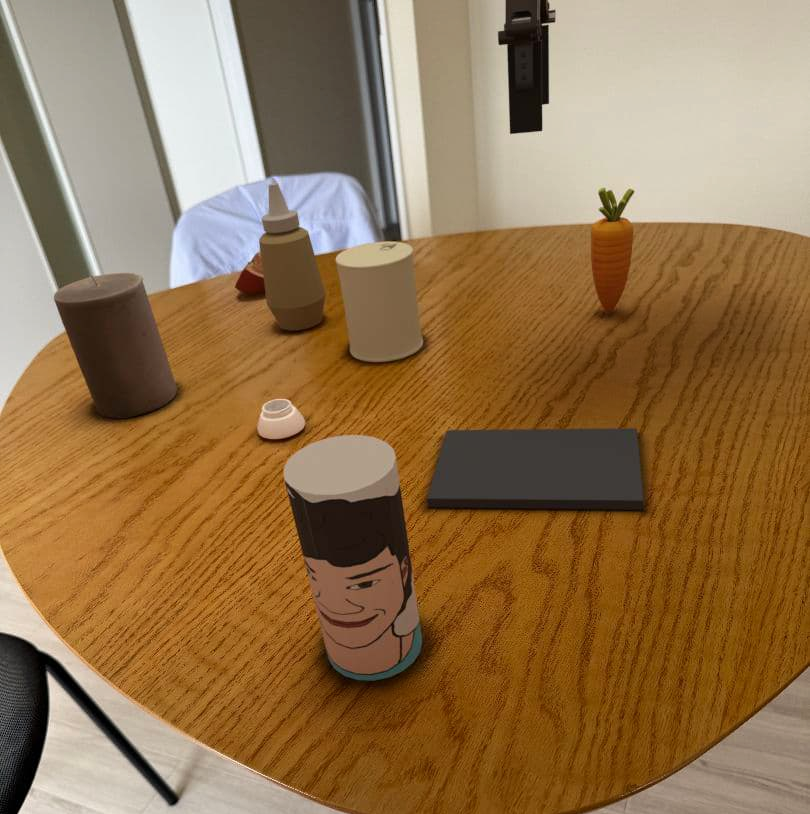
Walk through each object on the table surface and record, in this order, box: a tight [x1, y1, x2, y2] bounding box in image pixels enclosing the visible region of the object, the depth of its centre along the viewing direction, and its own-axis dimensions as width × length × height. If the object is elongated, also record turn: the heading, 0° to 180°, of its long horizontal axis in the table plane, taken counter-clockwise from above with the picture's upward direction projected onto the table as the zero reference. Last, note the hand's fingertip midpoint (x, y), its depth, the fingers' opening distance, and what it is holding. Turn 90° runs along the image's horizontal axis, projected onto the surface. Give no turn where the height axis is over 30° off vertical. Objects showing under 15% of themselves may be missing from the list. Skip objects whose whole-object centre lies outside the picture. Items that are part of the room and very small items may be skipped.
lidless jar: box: [256, 398, 306, 440], centre depth 82 cm, size 5×3×5 cm
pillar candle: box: [53, 272, 178, 419], centre depth 89 cm, size 10×10×15 cm
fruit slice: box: [234, 251, 265, 295], centre depth 119 cm, size 8×7×5 cm
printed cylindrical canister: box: [282, 434, 423, 682], centre depth 51 cm, size 7×7×15 cm
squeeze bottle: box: [258, 182, 326, 331], centre depth 102 cm, size 8×8×18 cm
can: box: [335, 241, 424, 363], centre depth 94 cm, size 9×9×12 cm
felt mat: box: [426, 427, 645, 511], centre depth 70 cm, size 18×12×1 cm, turn 79°
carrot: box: [590, 187, 635, 315], centre depth 93 cm, size 5×5×15 cm
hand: (530, 117), depth 72 cm, fingers open, 13 cm apart
